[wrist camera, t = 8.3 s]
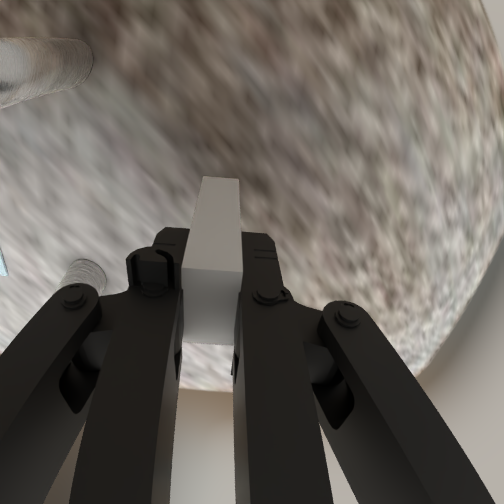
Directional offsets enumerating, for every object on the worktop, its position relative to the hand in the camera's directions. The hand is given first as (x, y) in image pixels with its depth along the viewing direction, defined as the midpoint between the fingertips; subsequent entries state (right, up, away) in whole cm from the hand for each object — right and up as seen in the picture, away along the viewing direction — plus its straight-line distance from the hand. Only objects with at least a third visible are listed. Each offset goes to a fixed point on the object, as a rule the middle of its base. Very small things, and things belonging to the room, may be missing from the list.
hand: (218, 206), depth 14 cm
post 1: (-7, +7, -2) cm, 10 cm away
